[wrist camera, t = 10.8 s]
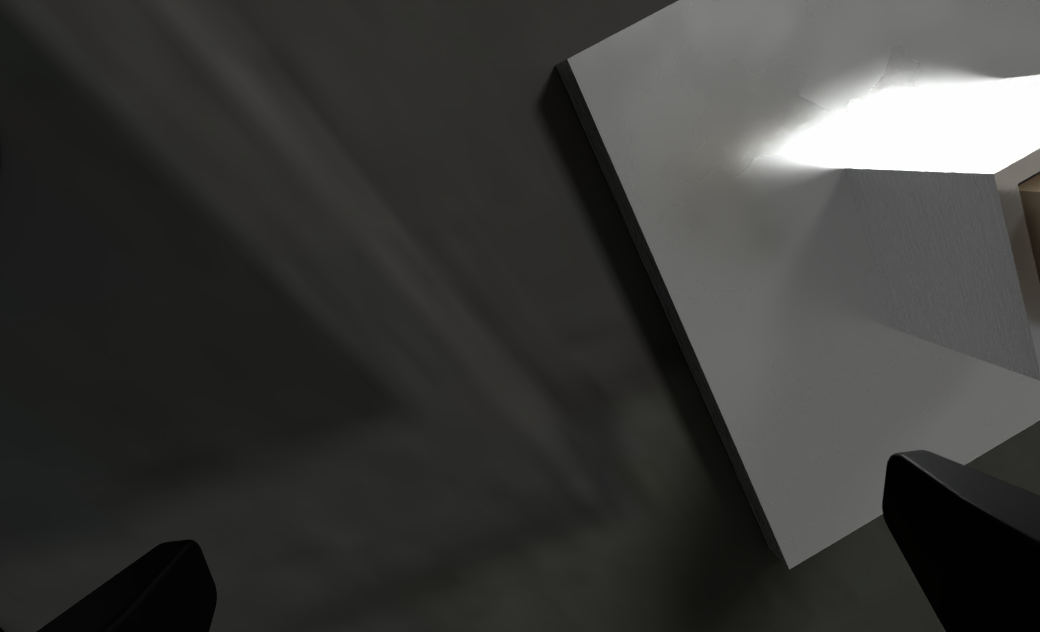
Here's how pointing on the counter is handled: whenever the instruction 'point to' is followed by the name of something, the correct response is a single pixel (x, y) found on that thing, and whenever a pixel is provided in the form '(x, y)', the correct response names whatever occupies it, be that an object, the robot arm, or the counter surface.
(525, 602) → the counter surface
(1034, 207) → the post
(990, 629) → the robot arm
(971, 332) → the stand
